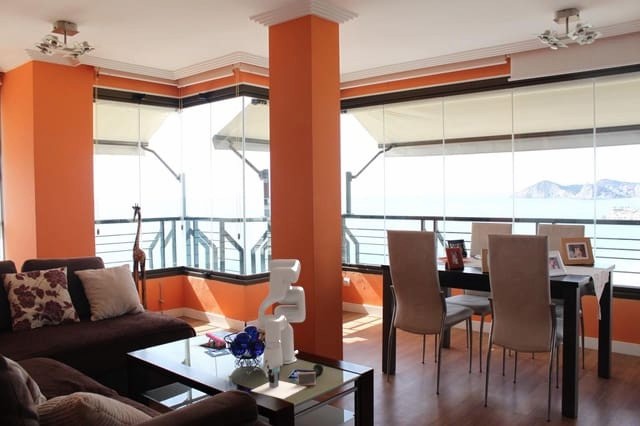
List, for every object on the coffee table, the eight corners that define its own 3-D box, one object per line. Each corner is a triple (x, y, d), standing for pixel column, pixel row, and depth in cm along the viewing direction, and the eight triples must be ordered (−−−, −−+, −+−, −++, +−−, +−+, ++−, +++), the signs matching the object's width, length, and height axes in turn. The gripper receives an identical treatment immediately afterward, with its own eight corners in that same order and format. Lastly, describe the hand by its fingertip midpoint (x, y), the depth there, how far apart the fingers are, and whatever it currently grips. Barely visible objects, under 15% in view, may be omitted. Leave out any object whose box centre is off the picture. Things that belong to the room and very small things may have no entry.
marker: (273, 385, 272) (273, 364, 272) (278, 386, 270) (278, 366, 270) (269, 387, 269) (268, 366, 269) (274, 388, 267) (273, 367, 267)
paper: (274, 380, 280) (274, 379, 280) (306, 387, 268) (306, 386, 268) (250, 391, 265) (250, 390, 265) (283, 399, 254) (283, 398, 254)
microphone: (309, 389, 274) (323, 373, 291) (312, 380, 272) (325, 364, 290) (300, 385, 275) (314, 369, 293) (303, 376, 274) (316, 360, 291)
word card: (297, 384, 272) (297, 372, 272) (315, 383, 273) (315, 372, 273) (297, 385, 271) (297, 373, 271) (315, 384, 272) (315, 372, 271)
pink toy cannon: (214, 341, 359) (214, 330, 358) (236, 345, 347) (236, 334, 347) (197, 346, 347) (196, 335, 347) (219, 351, 335) (219, 339, 335)
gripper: (277, 339, 277) (278, 375, 278) (256, 347, 264) (257, 385, 265) (289, 341, 273) (290, 377, 274) (268, 349, 260) (269, 387, 260)
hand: (274, 381), depth 269 cm, fingers closed on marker, 3 cm apart
